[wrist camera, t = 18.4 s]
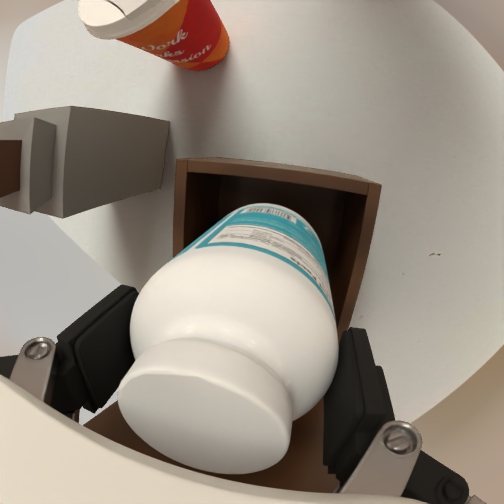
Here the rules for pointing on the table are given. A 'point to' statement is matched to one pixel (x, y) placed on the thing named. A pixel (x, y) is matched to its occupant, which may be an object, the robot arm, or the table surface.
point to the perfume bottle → (78, 159)
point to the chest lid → (277, 476)
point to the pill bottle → (232, 343)
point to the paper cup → (161, 28)
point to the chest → (289, 196)
